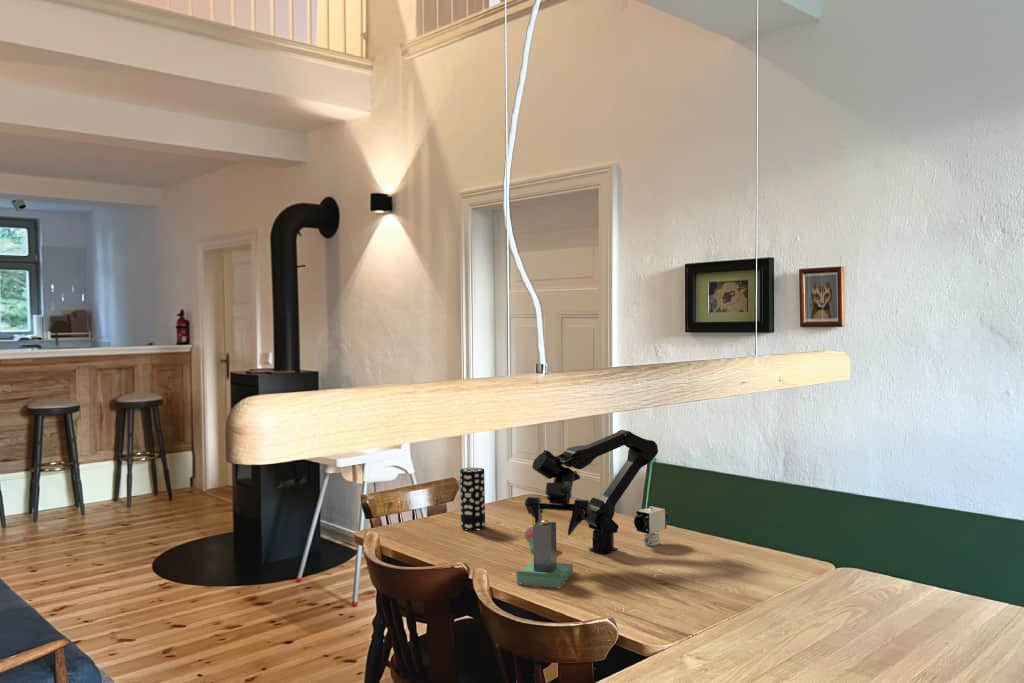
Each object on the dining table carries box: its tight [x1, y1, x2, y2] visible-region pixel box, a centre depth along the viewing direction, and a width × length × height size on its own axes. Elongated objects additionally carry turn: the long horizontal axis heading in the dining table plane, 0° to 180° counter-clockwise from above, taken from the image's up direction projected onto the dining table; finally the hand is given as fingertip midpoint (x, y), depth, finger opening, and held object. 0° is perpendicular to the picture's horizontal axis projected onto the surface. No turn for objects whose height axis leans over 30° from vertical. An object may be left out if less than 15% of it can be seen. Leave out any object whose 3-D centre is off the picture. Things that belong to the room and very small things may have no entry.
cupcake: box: [523, 514, 535, 552], centre depth 238 cm, size 9×8×12 cm
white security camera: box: [633, 505, 670, 547], centre depth 241 cm, size 6×12×12 cm, turn 130°
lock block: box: [532, 519, 558, 573], centre depth 210 cm, size 5×5×13 cm
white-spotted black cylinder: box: [459, 467, 486, 530], centre depth 265 cm, size 8×8×20 cm
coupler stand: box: [516, 560, 574, 589], centre depth 210 cm, size 13×12×4 cm
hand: (552, 533), depth 217 cm, fingers open, 9 cm apart
